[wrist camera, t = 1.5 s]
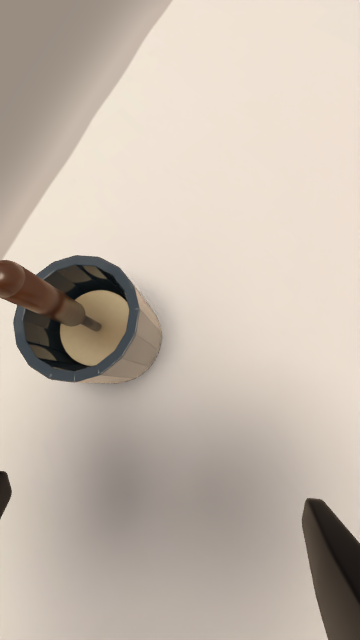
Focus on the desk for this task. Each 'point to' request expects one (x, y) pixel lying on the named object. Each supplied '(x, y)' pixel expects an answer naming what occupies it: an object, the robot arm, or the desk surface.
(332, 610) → the robot arm
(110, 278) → the faceted dark-rimmed cup
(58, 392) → the desk surface
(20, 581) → the desk surface
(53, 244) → the desk surface
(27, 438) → the desk surface
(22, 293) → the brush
